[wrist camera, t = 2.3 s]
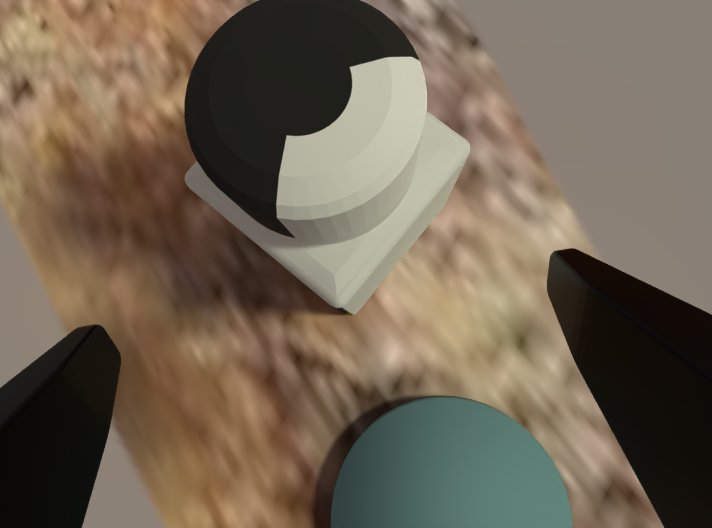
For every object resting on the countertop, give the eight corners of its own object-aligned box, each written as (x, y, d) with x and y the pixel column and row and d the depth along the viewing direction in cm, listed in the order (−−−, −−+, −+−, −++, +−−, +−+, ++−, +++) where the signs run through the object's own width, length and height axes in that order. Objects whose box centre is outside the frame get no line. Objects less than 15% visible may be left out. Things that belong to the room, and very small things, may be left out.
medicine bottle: (239, 225, 23) (86, 110, 11) (333, 116, 24) (282, -105, 12) (352, 319, 22) (316, 302, 10) (447, 202, 23) (519, 57, 11)
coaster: (589, 625, 20) (597, 637, 19) (351, 656, 20) (349, 670, 19) (538, 380, 21) (544, 382, 20) (317, 413, 21) (315, 416, 21)
